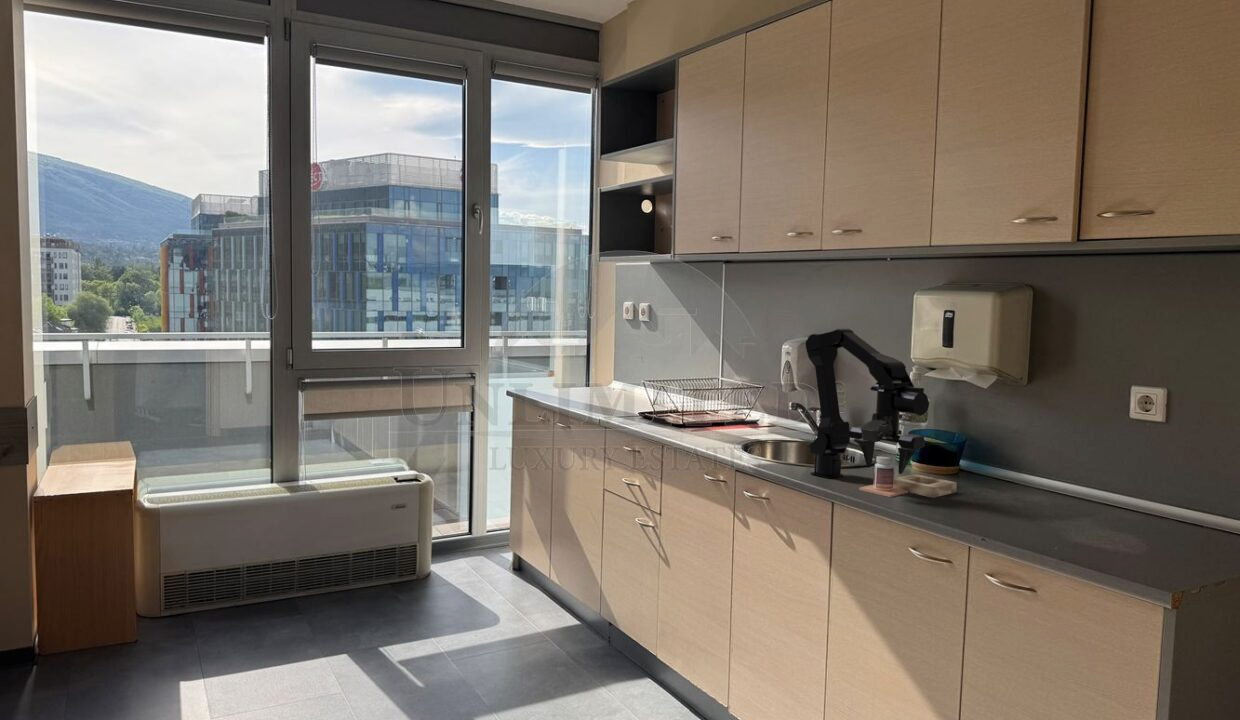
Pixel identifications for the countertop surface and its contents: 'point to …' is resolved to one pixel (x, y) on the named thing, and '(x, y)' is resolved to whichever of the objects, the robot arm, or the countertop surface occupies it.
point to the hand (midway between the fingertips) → (884, 470)
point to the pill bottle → (883, 473)
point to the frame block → (924, 485)
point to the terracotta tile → (885, 493)
